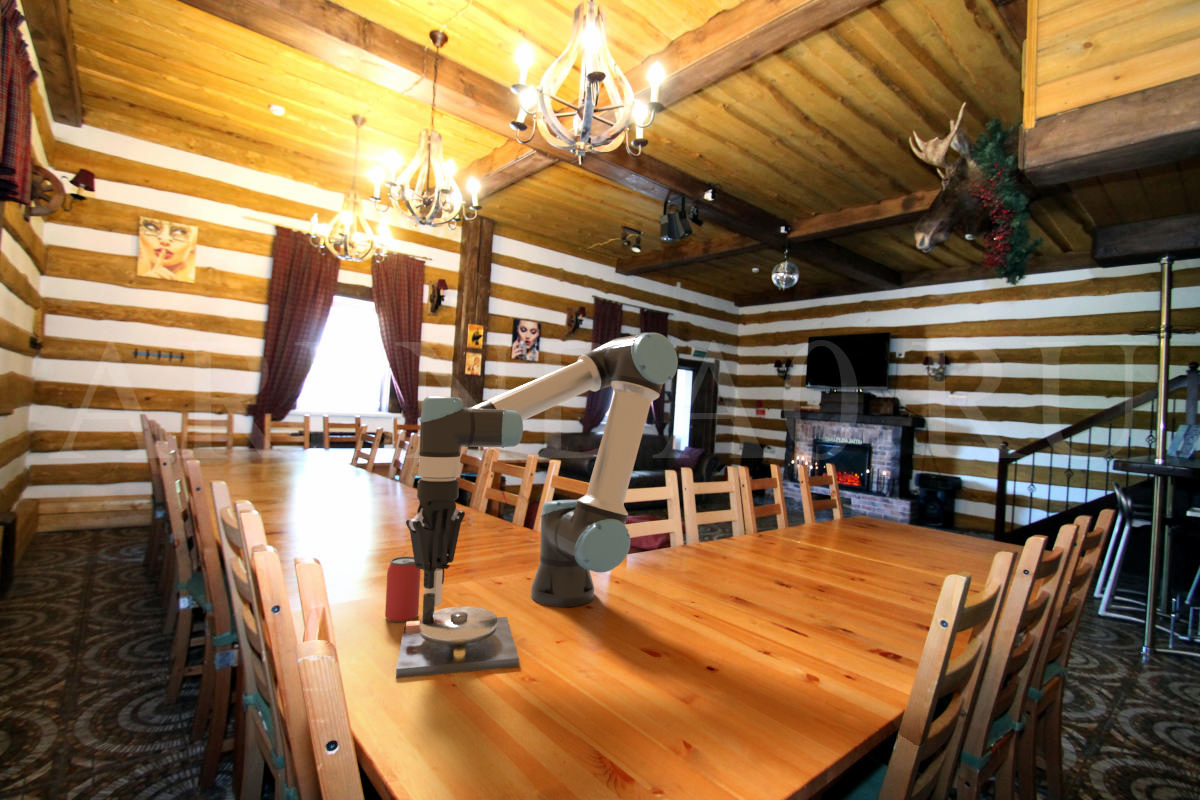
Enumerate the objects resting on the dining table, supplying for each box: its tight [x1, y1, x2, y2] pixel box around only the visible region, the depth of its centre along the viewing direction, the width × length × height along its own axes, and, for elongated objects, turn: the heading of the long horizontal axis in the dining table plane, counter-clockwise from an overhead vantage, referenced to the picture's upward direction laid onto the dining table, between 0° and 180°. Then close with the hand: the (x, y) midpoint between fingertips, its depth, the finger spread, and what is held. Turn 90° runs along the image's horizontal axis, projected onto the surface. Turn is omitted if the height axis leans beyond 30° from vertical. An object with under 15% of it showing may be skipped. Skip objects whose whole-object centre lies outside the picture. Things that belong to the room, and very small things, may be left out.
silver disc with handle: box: [405, 593, 497, 645], centre depth 100 cm, size 16×14×6 cm
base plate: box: [395, 616, 520, 679], centre depth 100 cm, size 20×19×4 cm
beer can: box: [384, 556, 421, 623], centre depth 114 cm, size 7×7×12 cm
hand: (432, 603), depth 102 cm, fingers closed
